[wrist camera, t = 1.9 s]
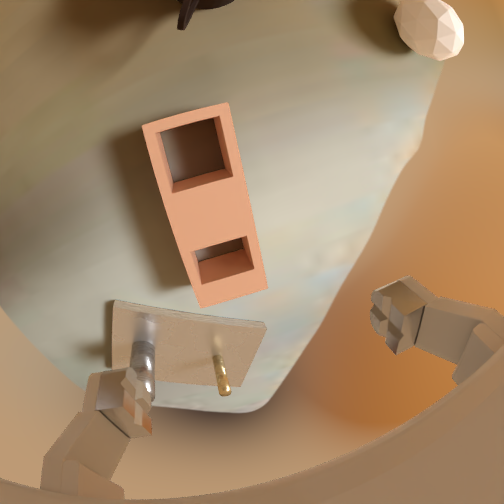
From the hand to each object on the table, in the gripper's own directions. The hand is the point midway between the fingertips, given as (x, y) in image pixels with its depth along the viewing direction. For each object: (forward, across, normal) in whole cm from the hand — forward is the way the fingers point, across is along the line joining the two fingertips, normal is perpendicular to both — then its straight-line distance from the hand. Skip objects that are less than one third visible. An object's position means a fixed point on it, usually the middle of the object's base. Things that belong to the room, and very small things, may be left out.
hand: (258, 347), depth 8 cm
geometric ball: (+17, -25, -15) cm, 34 cm away
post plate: (+17, +7, +15) cm, 24 cm away
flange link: (+17, 0, 0) cm, 17 cm away
